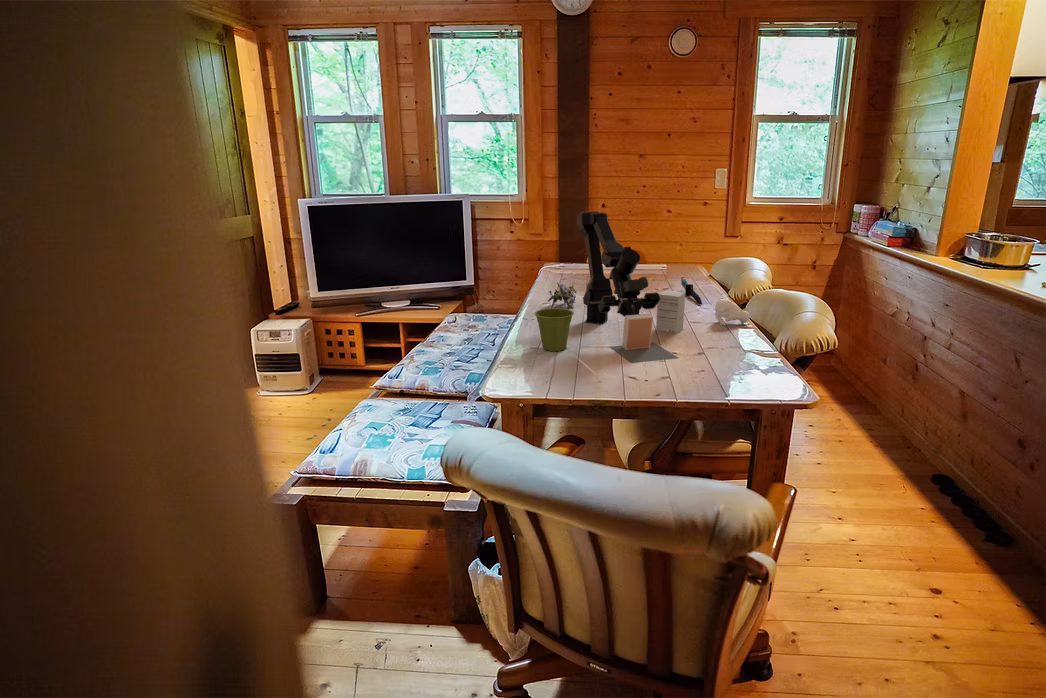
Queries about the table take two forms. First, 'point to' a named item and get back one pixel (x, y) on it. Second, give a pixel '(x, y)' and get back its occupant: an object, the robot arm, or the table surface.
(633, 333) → the white and orange box
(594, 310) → the robot arm
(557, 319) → the plant pot
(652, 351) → the mat
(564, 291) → the passion flower
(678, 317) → the supplement box
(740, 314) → the white animal figurine
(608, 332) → the table surface
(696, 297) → the knife
